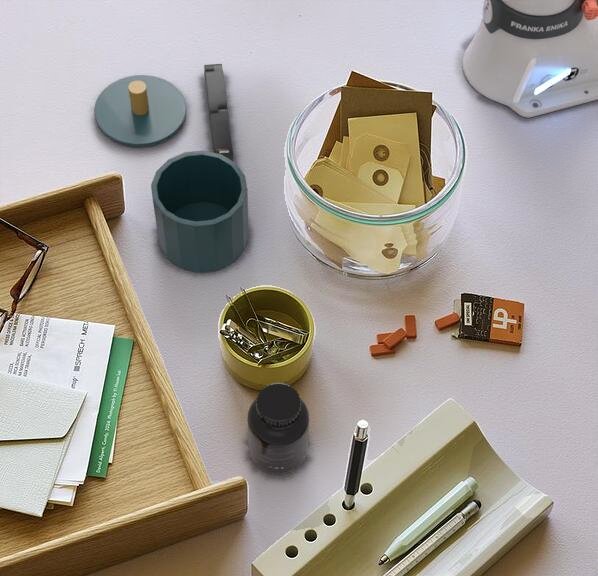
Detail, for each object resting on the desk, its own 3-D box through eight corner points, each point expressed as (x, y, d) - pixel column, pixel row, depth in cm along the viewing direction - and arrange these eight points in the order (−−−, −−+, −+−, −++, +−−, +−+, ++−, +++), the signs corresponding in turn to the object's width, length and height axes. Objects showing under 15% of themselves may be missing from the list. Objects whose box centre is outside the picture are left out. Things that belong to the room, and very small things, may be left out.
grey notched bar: (204, 76, 147) (203, 59, 144) (222, 74, 147) (221, 58, 144) (215, 175, 139) (214, 160, 136) (235, 174, 139) (234, 159, 137)
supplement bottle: (249, 422, 123) (248, 371, 112) (308, 424, 123) (312, 373, 112) (246, 475, 120) (245, 428, 109) (306, 478, 120) (310, 431, 109)
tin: (154, 205, 136) (147, 155, 128) (241, 196, 138) (240, 146, 129) (163, 277, 132) (156, 230, 123) (253, 267, 133) (252, 220, 124)
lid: (92, 85, 145) (87, 57, 141) (181, 77, 147) (179, 48, 142) (98, 153, 140) (93, 126, 135) (191, 144, 141) (189, 117, 137)
